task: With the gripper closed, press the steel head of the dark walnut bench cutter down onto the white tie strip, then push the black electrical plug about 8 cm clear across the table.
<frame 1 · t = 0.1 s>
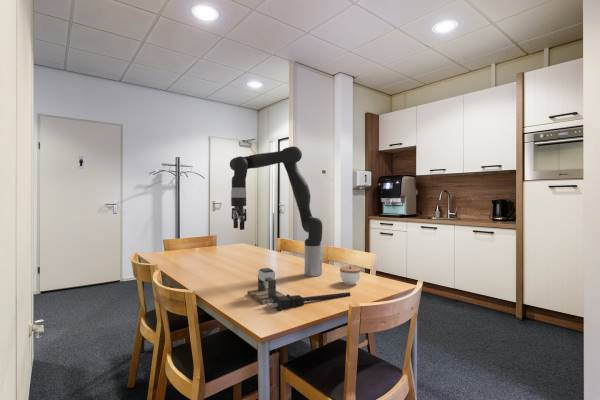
hand: (238, 228, 160), 29 cm above the table, tool pointing down, fingers open, 8 cm apart
cutter head: (266, 277, 144), point 9 cm above the table, slide at 0.0 cm
lidded jar: (350, 283, 167), on the table
cutter stand: (266, 296, 145), on the table
electrical plug: (309, 303, 138), on the table
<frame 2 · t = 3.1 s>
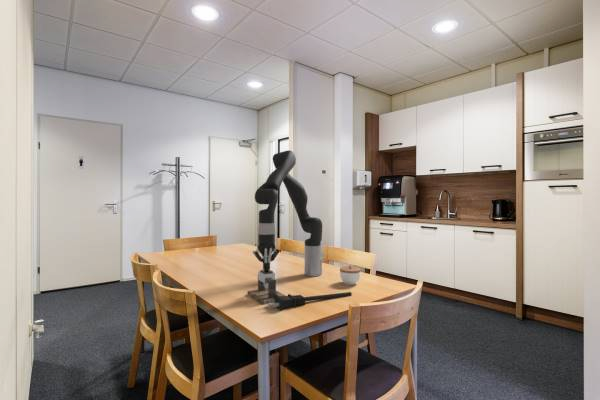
hand: (266, 270, 144), 12 cm above the table, tool pointing down, fingers closed
cutter head: (266, 279, 144), point 8 cm above the table, slide at 0.7 cm, touching gripper
everything else where it was.
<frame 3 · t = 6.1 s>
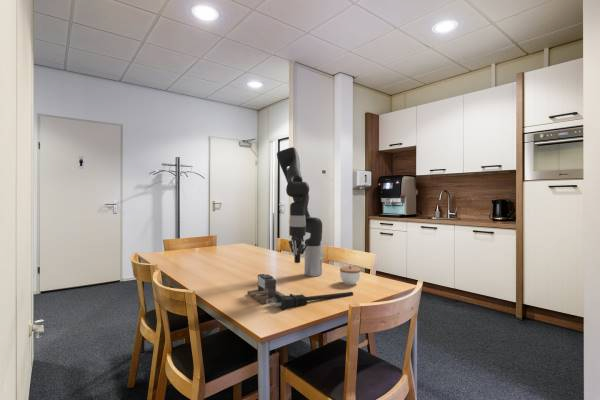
hand: (297, 262, 146), 15 cm above the table, tool pointing down, fingers closed
cutter head: (266, 284, 144), point 6 cm above the table, slide at 3.1 cm
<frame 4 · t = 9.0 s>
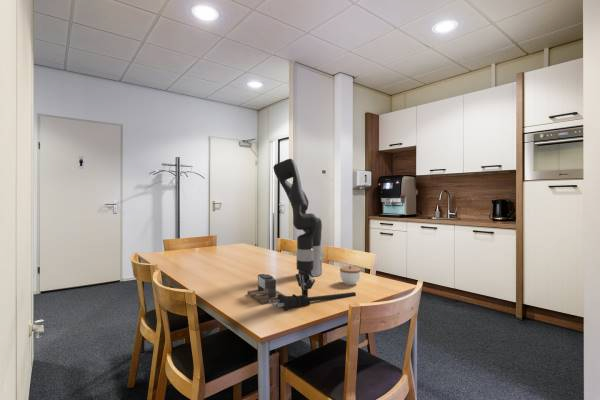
hand: (304, 297, 141), 1 cm above the table, tool pointing down, fingers closed
electrical plug: (315, 303, 138), on the table, touching gripper
everything else where it was.
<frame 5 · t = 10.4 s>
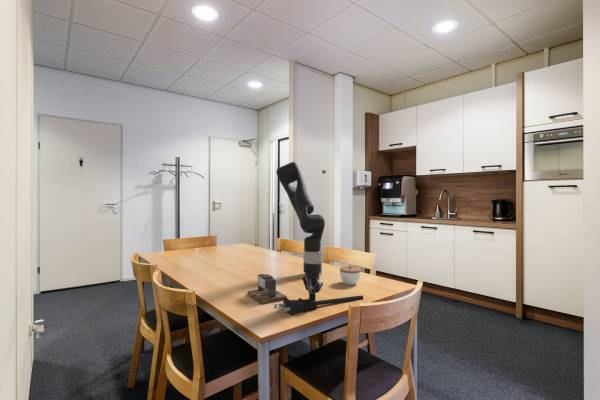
hand: (312, 301, 136), 1 cm above the table, tool pointing down, fingers closed
electrical plug: (322, 307, 133), on the table
everything else where it was.
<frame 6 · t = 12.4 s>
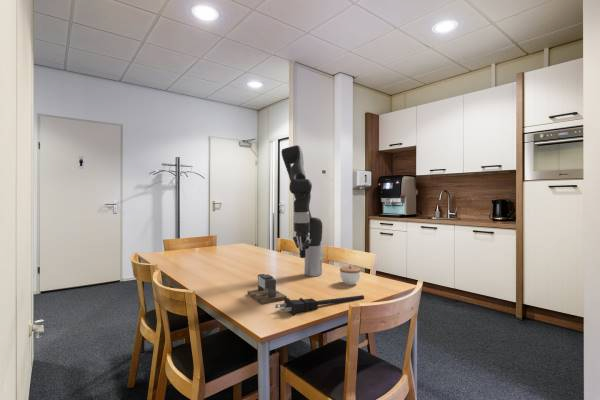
hand: (302, 257, 151), 17 cm above the table, tool pointing down, fingers closed
nothing on the table moved.
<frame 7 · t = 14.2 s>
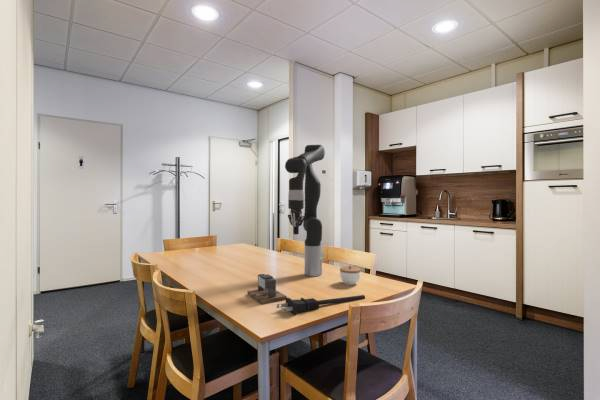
hand: (296, 234, 157), 27 cm above the table, tool pointing down, fingers closed
nothing on the table moved.
at the end: cutter head slide at 3.1 cm; electrical plug inside the target area (5.7 cm from its centre), on the table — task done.
